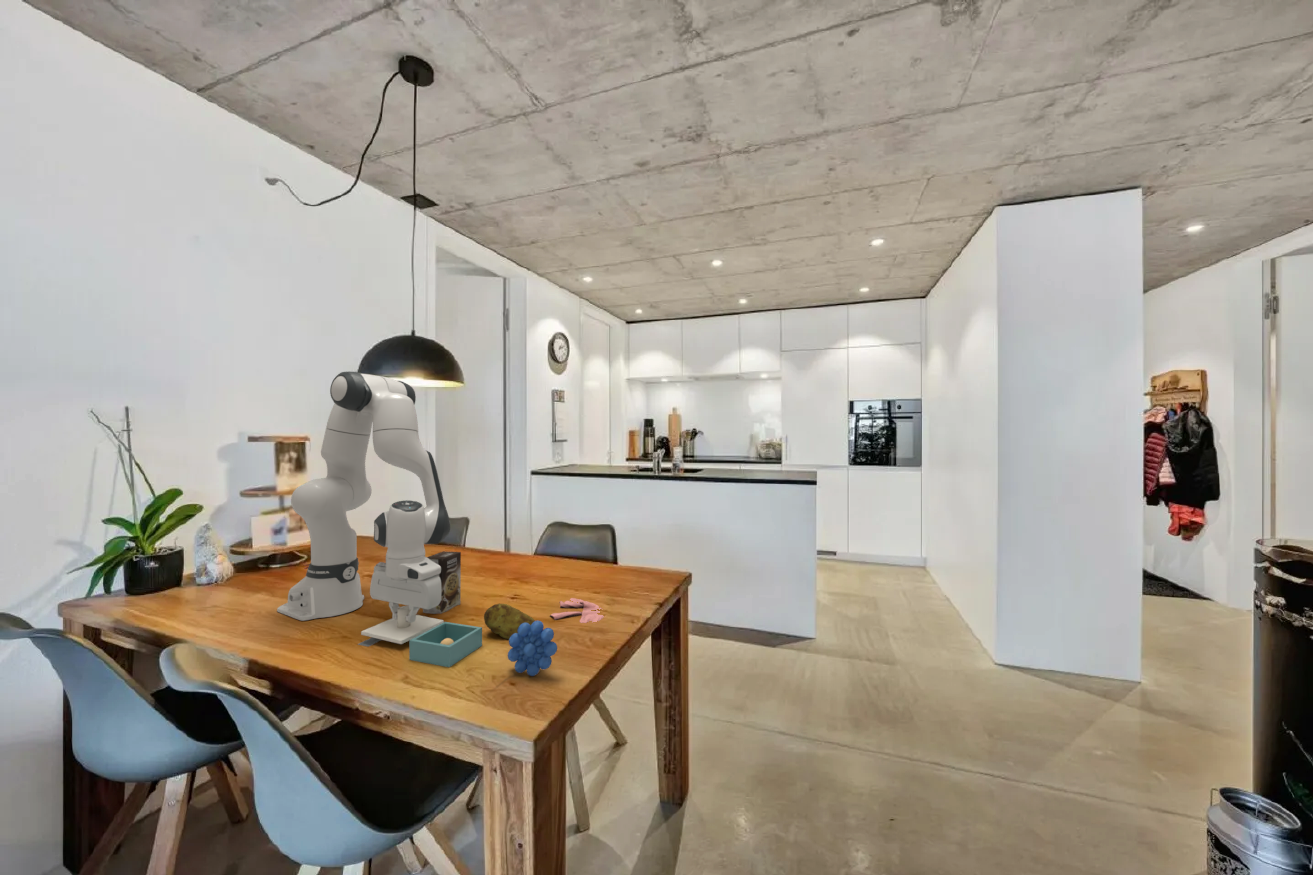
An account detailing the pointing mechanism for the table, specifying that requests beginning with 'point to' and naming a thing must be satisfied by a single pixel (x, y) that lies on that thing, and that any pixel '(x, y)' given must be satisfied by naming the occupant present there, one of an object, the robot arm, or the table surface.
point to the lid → (401, 627)
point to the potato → (505, 619)
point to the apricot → (447, 641)
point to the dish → (440, 654)
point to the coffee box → (448, 580)
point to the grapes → (532, 648)
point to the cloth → (586, 614)
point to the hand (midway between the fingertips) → (404, 620)
